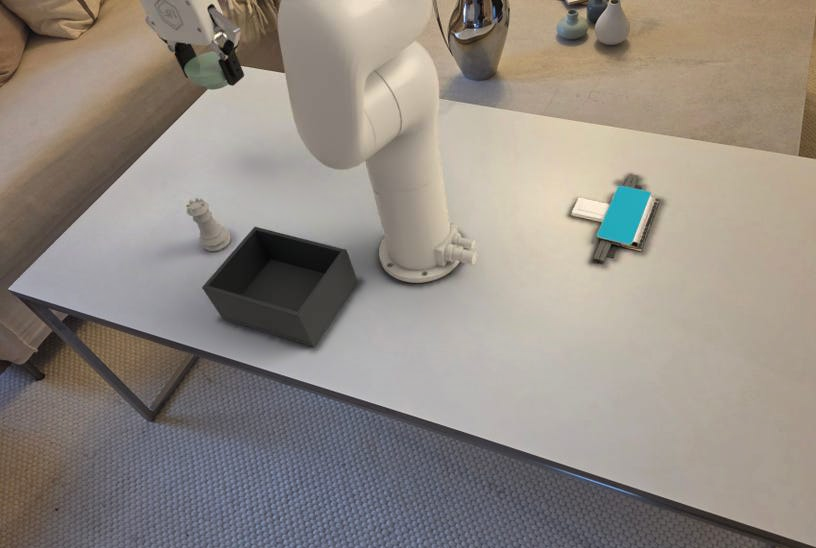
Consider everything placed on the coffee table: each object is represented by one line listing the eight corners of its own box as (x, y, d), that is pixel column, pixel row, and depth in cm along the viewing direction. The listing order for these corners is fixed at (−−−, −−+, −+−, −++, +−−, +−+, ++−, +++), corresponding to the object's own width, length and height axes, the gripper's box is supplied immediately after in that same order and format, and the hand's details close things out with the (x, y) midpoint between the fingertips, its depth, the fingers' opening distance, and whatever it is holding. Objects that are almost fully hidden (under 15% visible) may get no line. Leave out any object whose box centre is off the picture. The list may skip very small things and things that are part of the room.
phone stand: (593, 169, 97) (594, 161, 96) (665, 184, 94) (667, 176, 92) (554, 251, 86) (554, 243, 85) (634, 272, 83) (635, 264, 82)
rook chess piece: (210, 257, 91) (186, 218, 84) (198, 242, 93) (174, 203, 86) (236, 243, 92) (215, 203, 86) (224, 228, 94) (203, 189, 88)
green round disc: (251, 72, 91) (243, 54, 89) (222, 98, 87) (213, 79, 85) (213, 66, 93) (205, 48, 91) (183, 91, 89) (173, 72, 87)
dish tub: (358, 282, 85) (346, 249, 80) (314, 347, 79) (298, 316, 73) (271, 259, 89) (254, 226, 84) (222, 319, 83) (201, 287, 77)
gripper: (86, -45, 76) (155, 82, 90) (190, -35, 71) (247, 98, 85) (126, -67, 80) (187, 58, 94) (228, -59, 75) (276, 72, 89)
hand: (215, 76), depth 90 cm, fingers closed on green round disc, 7 cm apart
